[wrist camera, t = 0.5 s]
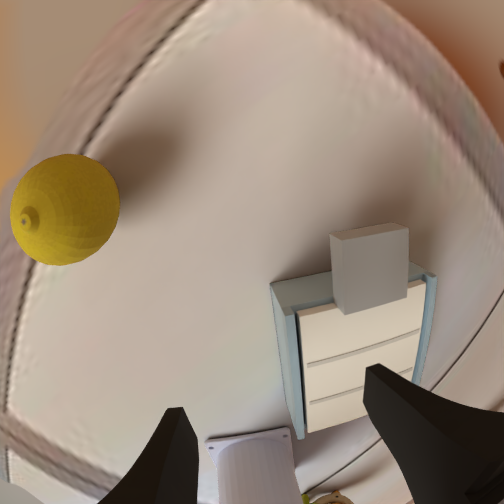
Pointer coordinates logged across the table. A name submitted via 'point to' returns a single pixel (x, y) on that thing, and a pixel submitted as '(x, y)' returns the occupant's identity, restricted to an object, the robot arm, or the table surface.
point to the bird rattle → (328, 499)
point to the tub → (316, 294)
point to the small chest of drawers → (359, 323)
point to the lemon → (64, 209)
